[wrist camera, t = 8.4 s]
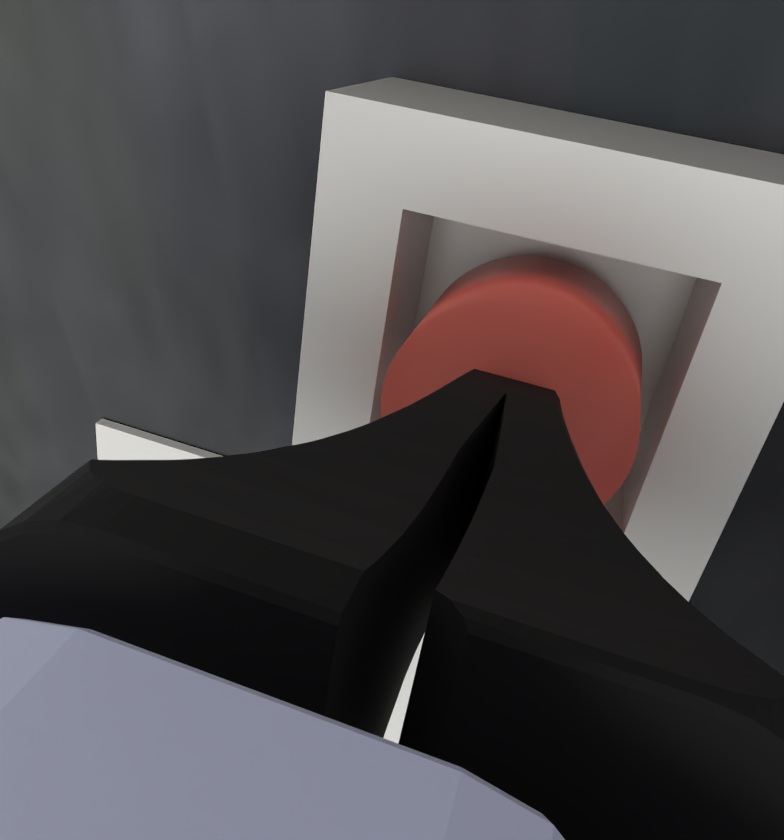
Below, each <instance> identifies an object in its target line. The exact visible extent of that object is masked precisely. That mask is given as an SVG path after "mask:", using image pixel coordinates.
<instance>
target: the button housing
mask: <svg viewBox="0 0 784 840" xmlns="http://www.w3.org/2000/svg"><path fill="white" fill-rule="evenodd" d="M520 255H533V256H544V257H550V258H555V259H559V260H562V261H565V262H568V263H571V264H573V265H576V266H578V267H580V268H582V269H584V270H586V271H588V272H589V273H591V274H592V275H594V276H596V277H597V278H598V279H600V280H601V281H602V282H603V283H604V284H606V285H607V286H608V287H609V288H610V289H611V290H612V291H613V292H614V293H615V294H616V295H617V296H618V297H619V299H620V300H621V301H622V303H623V304H624V306H625V307H626V309H627V310H628V312H629V314H630V316H631V318H632V320H633V322H634V324H635V326H636V329H637V332H638V335H639V339H640V344H641V350H642V386H641V415H640V436H639V443H638V449H637V453H636V456H635V460H634V463H633V465H632V467H631V469H630V471H629V474H628V476H627V477H626V479H625V480H624V482H623V483H622V485H621V486H620V488H619V489H618V490H617V492H616V493H615V494H614V495H613V496H612V497H611V498H610V499H609V500H608V501H607V502H606V503H605V504H604V506H605V508H606V509H607V511H608V512H609V513H610V515H611V516H612V517H613V519H614V520H615V522H616V523H617V524H618V526H619V527H620V528H621V530H622V531H623V533H624V534H625V535H626V536H627V538H628V539H629V540H630V541H631V542H632V544H633V545H634V546H635V547H636V548H637V550H638V551H639V552H640V553H641V554H642V555H643V556H644V557H645V558H646V559H647V561H648V562H649V563H650V564H651V565H652V566H653V567H654V568H655V569H656V570H657V571H658V572H659V573H660V575H661V576H662V577H663V578H664V579H665V580H666V581H667V582H668V583H669V584H670V585H671V586H672V587H673V588H674V589H676V590H677V591H678V592H679V593H680V594H681V595H682V596H683V597H684V598H685V599H686V600H687V601H688V602H689V600H690V598H691V596H692V594H693V592H694V589H695V587H696V585H697V583H698V581H699V579H700V577H701V575H702V573H703V570H704V568H705V566H706V564H707V562H708V560H709V558H710V556H711V554H712V552H713V549H714V547H715V545H716V543H717V541H718V539H719V537H720V535H721V533H722V531H723V528H724V526H725V524H726V522H727V520H728V518H729V516H730V514H731V512H732V510H733V507H734V505H735V503H736V501H737V499H738V497H739V495H740V493H741V491H742V489H743V486H744V484H745V482H746V480H747V478H748V476H749V474H750V472H751V470H752V468H753V465H754V463H755V461H756V459H757V457H758V455H759V453H760V451H761V449H762V446H763V444H764V442H765V440H766V438H767V436H768V434H769V432H770V430H771V428H772V425H773V423H774V421H775V419H776V417H777V415H778V413H779V411H780V409H781V407H782V404H783V402H784V154H779V153H774V152H769V151H763V150H758V149H753V148H748V147H743V146H738V145H733V144H728V143H723V142H718V141H713V140H708V139H703V138H698V137H693V136H688V135H683V134H678V133H673V132H668V131H663V130H658V129H653V128H648V127H643V126H638V125H633V124H628V123H622V122H617V121H612V120H607V119H602V118H597V117H592V116H587V115H582V114H577V113H572V112H567V111H562V110H557V109H552V108H547V107H542V106H537V105H532V104H527V103H522V102H517V101H512V100H507V99H502V98H497V97H492V96H486V95H481V94H476V93H471V92H466V91H461V90H456V89H451V88H446V87H441V86H436V85H431V84H426V83H421V82H416V81H411V80H406V79H401V78H396V77H389V78H385V79H380V80H375V81H370V82H366V83H361V84H356V85H351V86H347V87H342V88H337V89H332V90H328V91H326V92H325V103H324V114H323V124H322V135H321V145H320V156H319V166H318V177H317V187H316V198H315V208H314V219H313V229H312V240H311V250H310V261H309V272H308V282H307V293H306V303H305V314H304V324H303V335H302V345H301V356H300V366H299V377H298V387H297V398H296V408H295V419H294V429H293V440H292V445H297V444H302V443H307V442H311V441H315V440H319V439H323V438H326V437H329V436H333V435H336V434H339V433H343V432H346V431H349V430H352V429H355V428H358V427H360V426H363V425H366V424H368V423H371V422H373V421H376V420H378V419H380V418H381V407H380V405H381V394H382V388H383V384H384V380H385V376H386V374H387V371H388V369H389V366H390V364H391V362H392V360H393V358H394V357H395V355H396V353H397V352H398V350H399V349H400V348H401V346H402V345H403V344H404V342H405V341H406V340H407V339H408V337H409V336H410V335H411V333H412V332H413V331H414V330H415V328H416V327H417V326H418V324H419V323H420V322H421V321H422V319H423V318H424V317H425V315H426V314H427V313H428V312H429V310H430V309H431V308H432V306H433V305H434V304H435V303H436V301H437V300H438V299H439V297H440V296H441V295H442V294H443V292H444V291H445V290H446V289H447V288H448V287H449V286H450V285H451V284H452V283H453V282H454V281H455V280H456V279H458V278H459V277H461V276H462V275H463V274H465V273H466V272H468V271H470V270H471V269H473V268H475V267H477V266H479V265H481V264H484V263H487V262H489V261H492V260H495V259H500V258H504V257H509V256H520Z"/></svg>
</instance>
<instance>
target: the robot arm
mask: <svg viewBox="0 0 784 840" xmlns="http://www.w3.org/2000/svg"><path fill="white" fill-rule="evenodd" d="M424 633H425V634H424ZM423 635H424V638H423V643H422V647H421V651H420V655H419V659H418V664H417V668H416V672H415V676H414V680H413V685H412V689H411V693H410V697H409V701H408V705H407V710H406V714H405V718H404V722H403V726H402V731H401V735H400V739H399V743H395V742H392V741H390V740H387V739H384V738H383V737H384V734H385V732H386V729H387V726H388V723H389V720H390V717H391V715H392V712H393V709H394V706H395V703H396V701H397V698H398V695H399V692H400V689H401V686H402V684H403V681H404V678H405V676H406V673H407V671H408V668H409V666H410V664H411V661H412V659H413V657H414V654H415V652H416V650H417V648H418V646H419V643H420V641H421V639H422V637H423ZM0 840H784V676H783V675H781V674H780V673H779V672H777V671H776V670H775V669H773V668H772V667H770V666H769V665H768V664H766V663H765V662H764V661H762V660H761V659H760V658H758V657H757V656H755V655H754V654H753V653H751V652H750V651H749V650H747V649H746V648H744V647H743V646H742V645H740V644H739V643H738V642H736V641H735V640H733V639H732V638H731V637H729V636H728V635H727V634H726V633H724V632H723V631H722V630H721V629H719V628H718V627H717V626H716V625H715V624H714V623H713V622H711V621H710V620H709V619H708V618H707V617H706V616H704V615H703V614H702V613H701V612H700V611H699V610H697V609H696V608H695V607H694V606H693V605H692V604H691V603H689V602H688V601H687V600H686V599H685V598H684V597H683V596H682V595H681V594H680V593H679V592H678V591H677V590H676V589H674V588H673V587H672V586H671V585H670V584H669V583H668V582H667V581H666V580H665V579H664V578H663V577H662V576H661V575H660V573H659V572H658V571H657V570H656V569H655V568H654V567H653V566H652V565H651V564H650V563H649V562H648V561H647V559H646V558H645V557H644V556H643V555H642V554H641V553H640V552H639V551H638V550H637V548H636V547H635V546H634V545H633V544H632V542H631V541H630V540H629V539H628V538H627V536H626V535H625V534H624V533H623V531H622V530H621V528H620V527H619V526H618V524H617V523H616V522H615V520H614V519H613V517H612V516H611V515H610V513H609V512H608V511H607V509H606V508H605V506H604V505H603V503H602V502H601V500H600V498H599V497H598V495H597V493H596V491H595V489H594V487H593V486H592V484H591V482H590V480H589V478H588V476H587V474H586V472H585V470H584V468H583V466H582V464H581V461H580V459H579V457H578V455H577V452H576V450H575V448H574V445H573V443H572V440H571V438H570V435H569V432H568V429H567V426H566V423H565V420H564V417H563V413H562V409H561V404H560V399H559V397H558V395H557V393H556V391H555V390H552V389H548V388H544V387H541V386H537V385H533V384H530V383H526V382H522V381H518V380H515V379H511V378H507V377H504V376H500V375H496V374H492V373H489V372H485V371H481V370H478V369H473V370H471V371H469V372H467V373H465V374H463V375H462V376H460V377H458V378H456V379H455V380H453V381H451V382H450V383H448V384H446V385H445V386H443V387H441V388H440V389H438V390H436V391H434V392H433V393H431V394H429V395H427V396H425V397H424V398H422V399H420V400H418V401H416V402H414V403H412V404H410V405H409V406H407V407H405V408H402V409H400V410H398V411H396V412H393V413H391V414H389V415H387V416H385V417H382V418H380V419H378V420H376V421H373V422H371V423H368V424H366V425H363V426H360V427H358V428H355V429H352V430H349V431H346V432H343V433H339V434H336V435H333V436H329V437H326V438H323V439H319V440H315V441H311V442H307V443H302V444H297V445H292V446H287V447H282V448H277V449H272V450H267V451H261V452H255V453H248V454H240V455H231V456H223V457H210V458H198V459H181V460H93V459H92V460H90V461H89V462H87V463H86V464H85V465H83V466H82V467H80V468H79V469H78V470H76V471H75V472H74V473H72V474H71V475H70V476H69V477H67V478H66V479H65V480H63V481H62V482H61V483H59V484H58V485H57V486H56V487H54V488H53V489H52V490H50V491H49V492H48V493H47V494H45V495H44V496H43V497H41V498H40V499H39V500H38V501H36V502H35V503H34V504H32V505H31V506H30V507H29V508H27V509H26V510H25V511H23V512H22V513H21V514H20V515H18V516H17V517H16V518H14V519H13V520H12V521H11V522H9V523H8V524H7V525H5V526H4V527H3V528H2V529H0Z"/></svg>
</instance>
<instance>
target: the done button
mask: <svg viewBox="0 0 784 840" xmlns="http://www.w3.org/2000/svg"><path fill="white" fill-rule="evenodd" d="M473 369H478V370H481V371H485V372H489V373H492V374H496V375H500V376H504V377H507V378H511V379H515V380H518V381H522V382H526V383H530V384H533V385H537V386H541V387H544V388H548V389H552V390H555V391H556V393H557V395H558V397H559V399H560V404H561V409H562V413H563V417H564V420H565V423H566V426H567V429H568V432H569V435H570V438H571V440H572V443H573V445H574V448H575V450H576V452H577V455H578V457H579V459H580V461H581V464H582V466H583V468H584V470H585V472H586V474H587V476H588V478H589V480H590V482H591V484H592V486H593V487H594V489H595V491H596V493H597V495H598V497H599V498H600V500H601V502H602V503H603V505H604V504H605V503H606V502H607V501H608V500H609V499H610V498H611V497H612V496H613V495H614V494H615V493H616V492H617V490H618V489H619V488H620V486H621V485H622V483H623V482H624V480H625V479H626V477H627V476H628V474H629V471H630V469H631V467H632V465H633V463H634V460H635V456H636V453H637V449H638V443H639V436H640V415H641V386H642V350H641V344H640V339H639V335H638V332H637V329H636V326H635V324H634V322H633V320H632V318H631V316H630V314H629V312H628V310H627V309H626V307H625V306H624V304H623V303H622V301H621V300H620V299H619V297H618V296H617V295H616V294H615V293H614V292H613V291H612V290H611V289H610V288H609V287H608V286H607V285H606V284H604V283H603V282H602V281H601V280H600V279H598V278H597V277H596V276H594V275H592V274H591V273H589V272H588V271H586V270H584V269H582V268H580V267H578V266H576V265H573V264H571V263H568V262H565V261H562V260H559V259H555V258H550V257H544V256H533V255H520V256H509V257H504V258H500V259H495V260H492V261H489V262H487V263H484V264H481V265H479V266H477V267H475V268H473V269H471V270H470V271H468V272H466V273H465V274H463V275H462V276H461V277H459V278H458V279H456V280H455V281H454V282H453V283H452V284H451V285H450V286H449V287H448V288H447V289H446V290H445V291H444V292H443V294H442V295H441V296H440V297H439V299H438V300H437V301H436V303H435V304H434V305H433V306H432V308H431V309H430V310H429V312H428V313H427V314H426V315H425V317H424V318H423V319H422V321H421V322H420V323H419V324H418V326H417V327H416V328H415V330H414V331H413V332H412V333H411V335H410V336H409V337H408V339H407V340H406V341H405V342H404V344H403V345H402V346H401V348H400V349H399V350H398V352H397V353H396V355H395V357H394V358H393V360H392V362H391V364H390V366H389V369H388V371H387V374H386V376H385V380H384V384H383V388H382V394H381V405H380V407H381V418H382V417H385V416H387V415H389V414H391V413H393V412H396V411H398V410H400V409H402V408H405V407H407V406H409V405H410V404H412V403H414V402H416V401H418V400H420V399H422V398H424V397H425V396H427V395H429V394H431V393H433V392H434V391H436V390H438V389H440V388H441V387H443V386H445V385H446V384H448V383H450V382H451V381H453V380H455V379H456V378H458V377H460V376H462V375H463V374H465V373H467V372H469V371H471V370H473Z"/></svg>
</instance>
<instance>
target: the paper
mask: <svg viewBox="0 0 784 840" xmlns="http://www.w3.org/2000/svg"><path fill="white" fill-rule="evenodd" d="M96 438H97V453H98V460H181V459H198V458H210V457H223V456H222V455H218V454H215V453H212V452H209V451H206V450H202V449H199V448H196V447H193V446H189V445H186V444H183V443H180V442H177V441H173V440H170V439H167V438H164V437H161V436H157V435H154V434H151V433H148V432H145V431H141V430H138V429H135V428H132V427H129V426H125V425H122V424H119V423H116V422H113V421H109V420H106V419H103V418H102V419H101V420H99V421H98V422H97V423H96ZM424 634H425V633H424ZM423 638H424V635H423V637H422V639H421V641H420V643H419V646H418V648H417V650H416V652H415V654H414V657H413V659H412V661H411V664H410V666H409V668H408V671H407V673H406V676H405V678H404V681H403V684H402V686H401V689H400V692H399V695H398V698H397V701H396V703H395V706H394V709H393V712H392V715H391V717H390V720H389V723H388V726H387V729H386V732H385V734H384V737H383V738H384V739H387V740H390V741H392V742H395V743H399V739H400V735H401V731H402V726H403V722H404V718H405V714H406V710H407V705H408V701H409V697H410V693H411V689H412V685H413V680H414V676H415V672H416V668H417V664H418V659H419V655H420V651H421V647H422V643H423Z"/></svg>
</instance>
